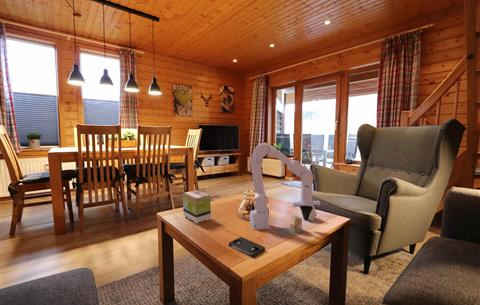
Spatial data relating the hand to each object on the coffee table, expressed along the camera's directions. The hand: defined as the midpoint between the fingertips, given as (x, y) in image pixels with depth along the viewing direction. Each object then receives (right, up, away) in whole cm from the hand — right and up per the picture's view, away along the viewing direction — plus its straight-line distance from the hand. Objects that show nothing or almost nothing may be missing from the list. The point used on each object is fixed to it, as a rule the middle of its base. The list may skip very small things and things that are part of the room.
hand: (305, 220), depth 116 cm
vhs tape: (-31, -8, -17) cm, 36 cm away
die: (+6, -4, +14) cm, 16 cm away
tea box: (-58, -5, +18) cm, 61 cm away
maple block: (-5, -5, -1) cm, 7 cm away
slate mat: (-8, -6, -1) cm, 10 cm away
